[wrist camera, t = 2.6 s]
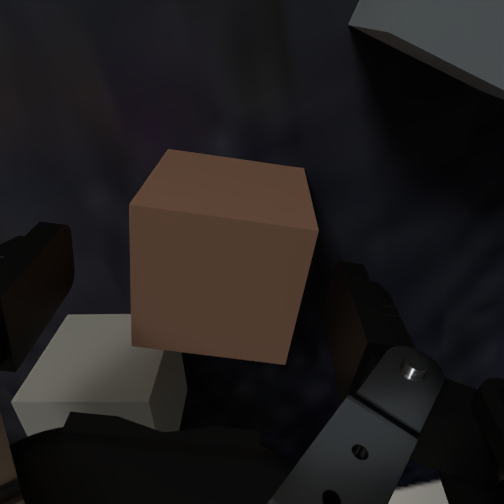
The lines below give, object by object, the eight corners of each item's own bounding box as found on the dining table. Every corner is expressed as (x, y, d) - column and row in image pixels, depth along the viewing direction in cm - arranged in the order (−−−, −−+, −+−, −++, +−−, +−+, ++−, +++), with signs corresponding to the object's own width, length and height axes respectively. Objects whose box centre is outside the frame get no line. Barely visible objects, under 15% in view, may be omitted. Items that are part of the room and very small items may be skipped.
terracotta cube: (303, 167, 15) (318, 230, 11) (280, 278, 18) (285, 364, 13) (168, 148, 15) (128, 204, 11) (164, 263, 17) (131, 346, 13)
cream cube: (175, 312, 19) (148, 401, 14) (187, 388, 21) (168, 483, 17) (68, 313, 19) (10, 402, 15) (93, 388, 22) (50, 482, 17)
